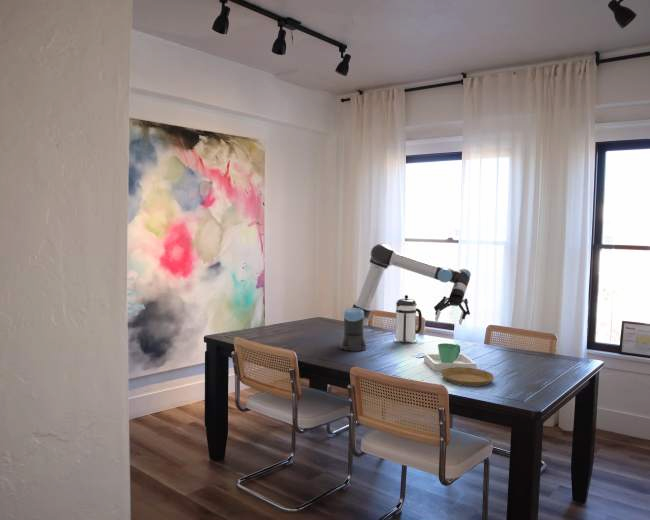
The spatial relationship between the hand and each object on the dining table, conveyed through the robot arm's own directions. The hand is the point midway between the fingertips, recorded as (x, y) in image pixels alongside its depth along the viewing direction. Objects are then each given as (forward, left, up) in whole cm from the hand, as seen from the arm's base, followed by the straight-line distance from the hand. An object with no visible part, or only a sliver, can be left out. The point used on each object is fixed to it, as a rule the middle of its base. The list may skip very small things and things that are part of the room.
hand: (447, 321), depth 290 cm
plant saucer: (-2, -42, -21) cm, 47 cm away
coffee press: (-13, +44, -21) cm, 50 cm away
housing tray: (-3, -16, -20) cm, 26 cm away
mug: (-3, -16, -19) cm, 26 cm away
